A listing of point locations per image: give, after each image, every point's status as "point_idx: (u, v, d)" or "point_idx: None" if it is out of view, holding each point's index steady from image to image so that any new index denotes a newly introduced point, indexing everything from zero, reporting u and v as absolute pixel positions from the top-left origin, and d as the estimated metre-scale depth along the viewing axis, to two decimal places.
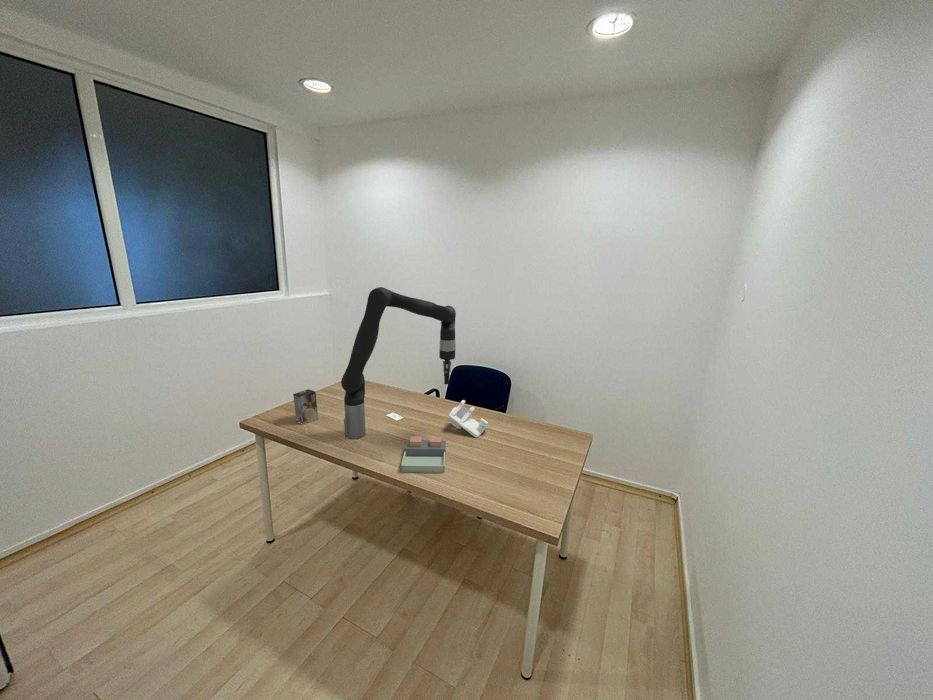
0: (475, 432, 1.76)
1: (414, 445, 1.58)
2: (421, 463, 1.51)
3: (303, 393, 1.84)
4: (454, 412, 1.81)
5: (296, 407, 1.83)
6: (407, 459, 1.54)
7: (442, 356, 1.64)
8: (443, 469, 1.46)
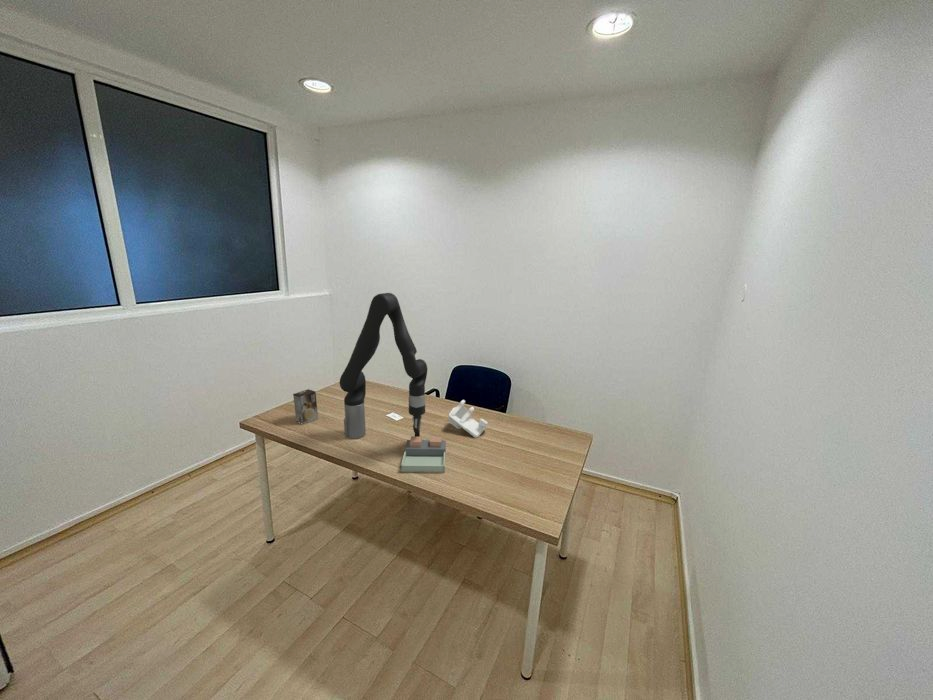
0: (474, 432, 1.76)
1: (414, 445, 1.58)
2: (421, 463, 1.51)
3: (303, 393, 1.84)
4: (454, 412, 1.81)
5: (296, 407, 1.83)
6: (407, 459, 1.54)
7: (411, 412, 1.57)
8: (443, 469, 1.46)
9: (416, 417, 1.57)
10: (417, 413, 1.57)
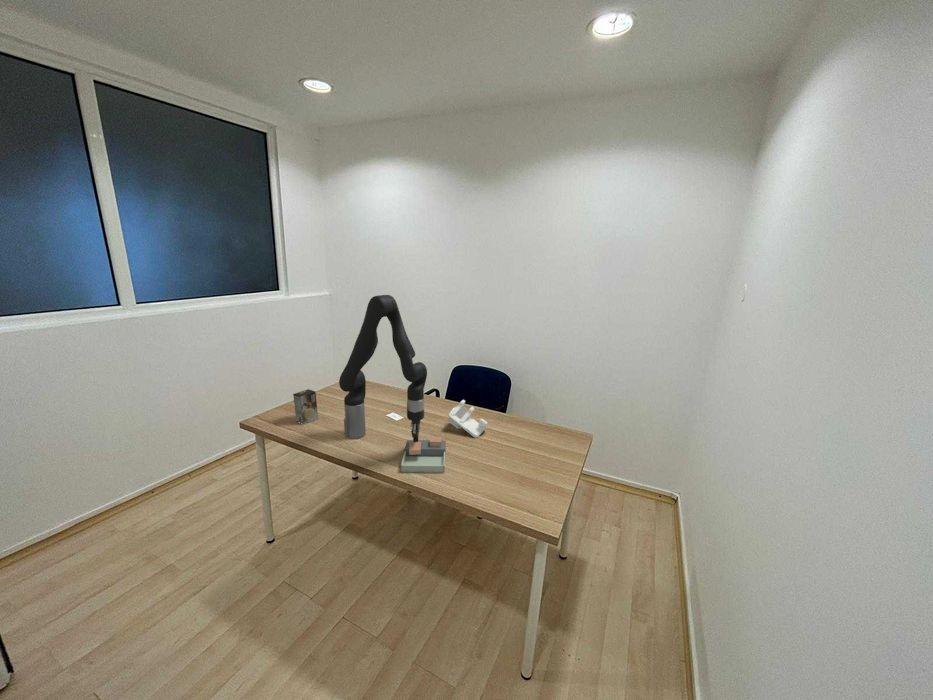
0: (474, 432, 1.76)
1: (414, 453, 1.53)
2: (421, 463, 1.51)
3: (303, 393, 1.84)
4: (454, 412, 1.81)
5: (296, 407, 1.83)
6: (407, 459, 1.54)
7: (409, 417, 1.52)
8: (443, 469, 1.46)
9: (415, 422, 1.52)
10: (416, 418, 1.51)
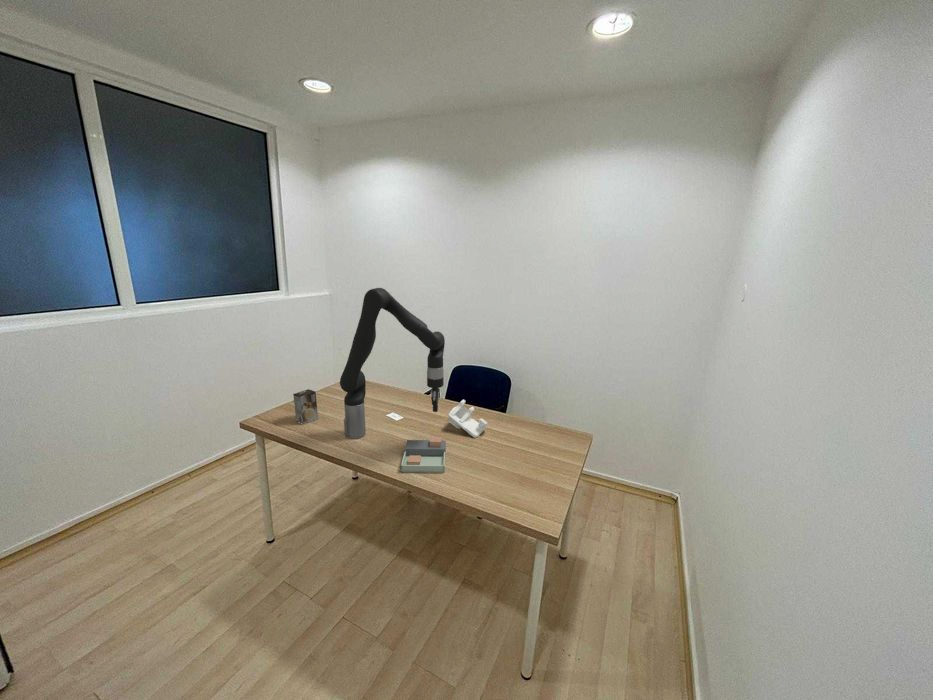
0: (474, 432, 1.76)
1: None
2: (421, 463, 1.51)
3: (303, 393, 1.84)
4: (454, 412, 1.81)
5: (296, 407, 1.83)
6: (407, 459, 1.54)
7: (429, 384, 1.57)
8: (443, 469, 1.46)
9: (434, 389, 1.57)
10: (435, 385, 1.57)
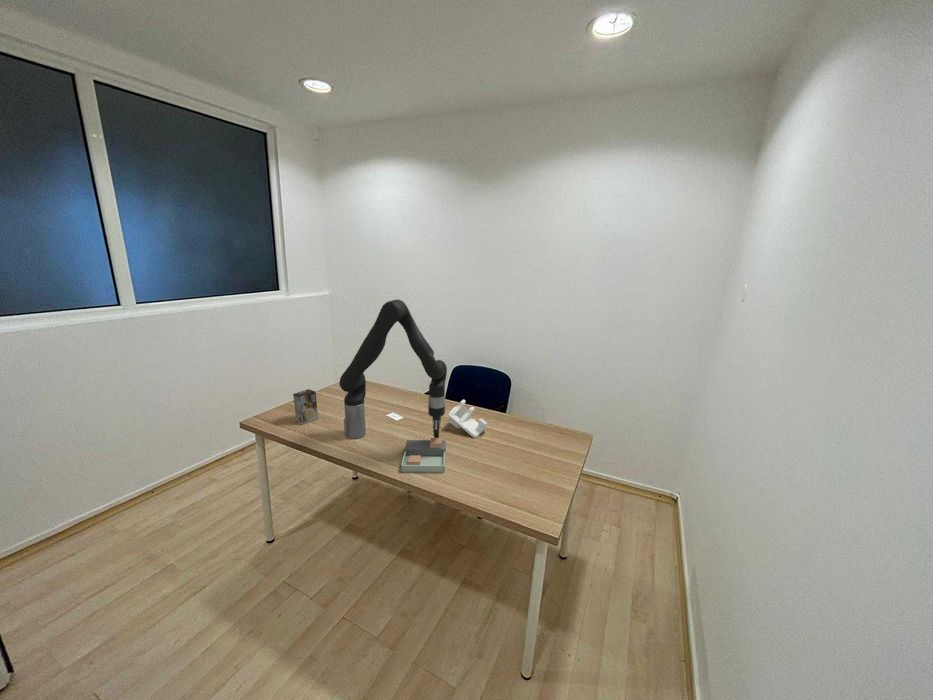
0: (473, 432, 1.76)
1: None
2: (421, 463, 1.51)
3: (303, 393, 1.84)
4: (453, 411, 1.82)
5: (296, 407, 1.83)
6: (407, 459, 1.54)
7: (431, 413, 1.57)
8: (443, 469, 1.46)
9: (436, 418, 1.56)
10: (437, 414, 1.56)
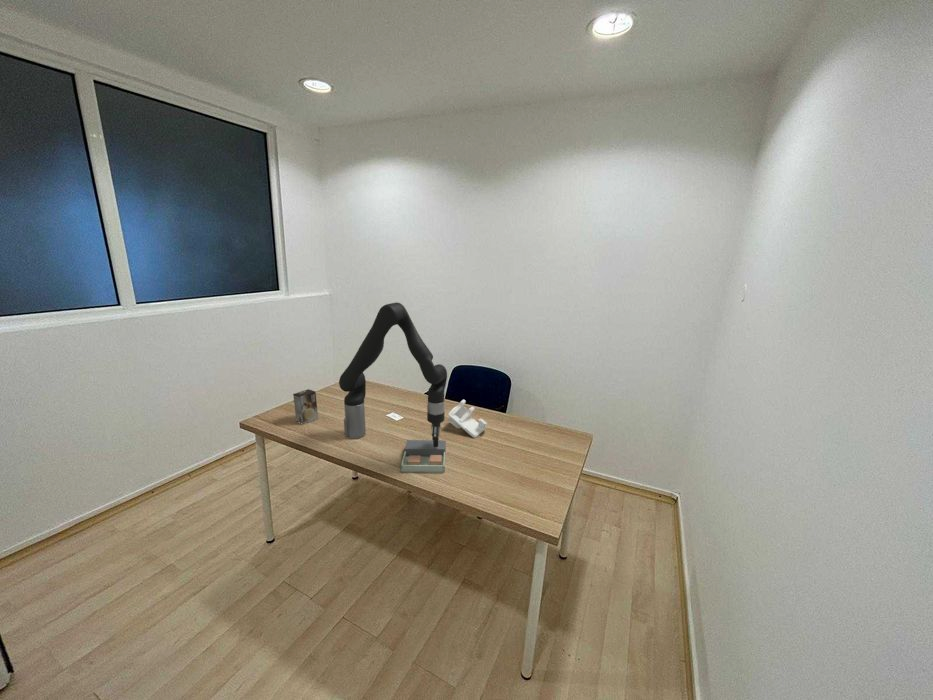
0: (473, 432, 1.76)
1: None
2: (421, 463, 1.51)
3: (303, 393, 1.84)
4: (453, 411, 1.82)
5: (296, 407, 1.83)
6: (407, 459, 1.54)
7: (430, 419, 1.50)
8: (443, 469, 1.46)
9: (435, 425, 1.50)
10: (436, 421, 1.50)
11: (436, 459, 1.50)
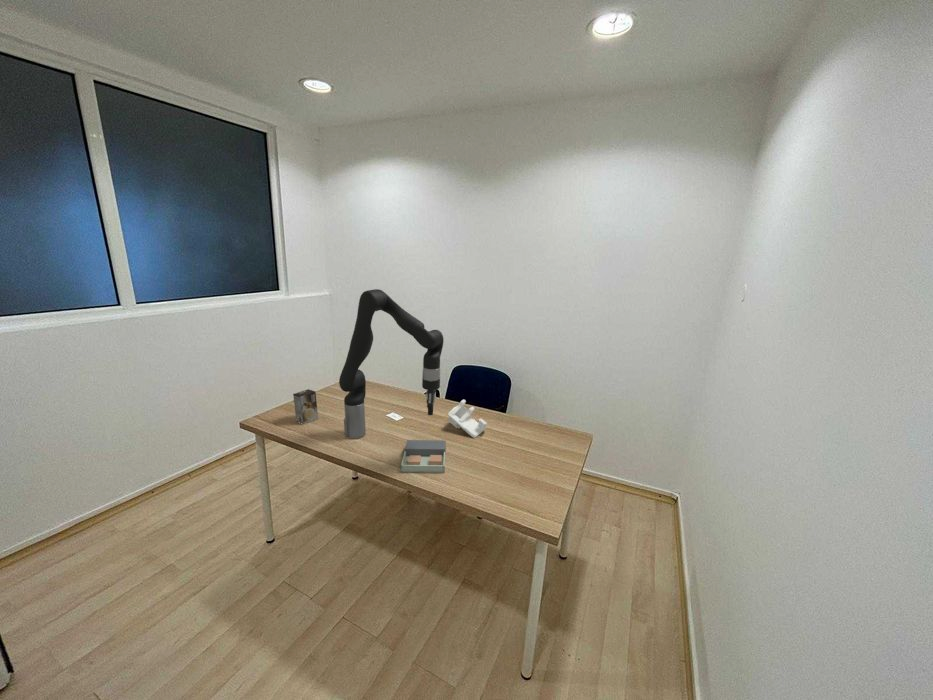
0: (473, 432, 1.76)
1: None
2: (421, 463, 1.51)
3: (303, 393, 1.84)
4: (453, 411, 1.82)
5: (296, 407, 1.83)
6: (407, 459, 1.54)
7: (425, 386, 1.47)
8: (443, 469, 1.46)
9: (430, 392, 1.47)
10: (431, 387, 1.46)
11: (436, 459, 1.50)
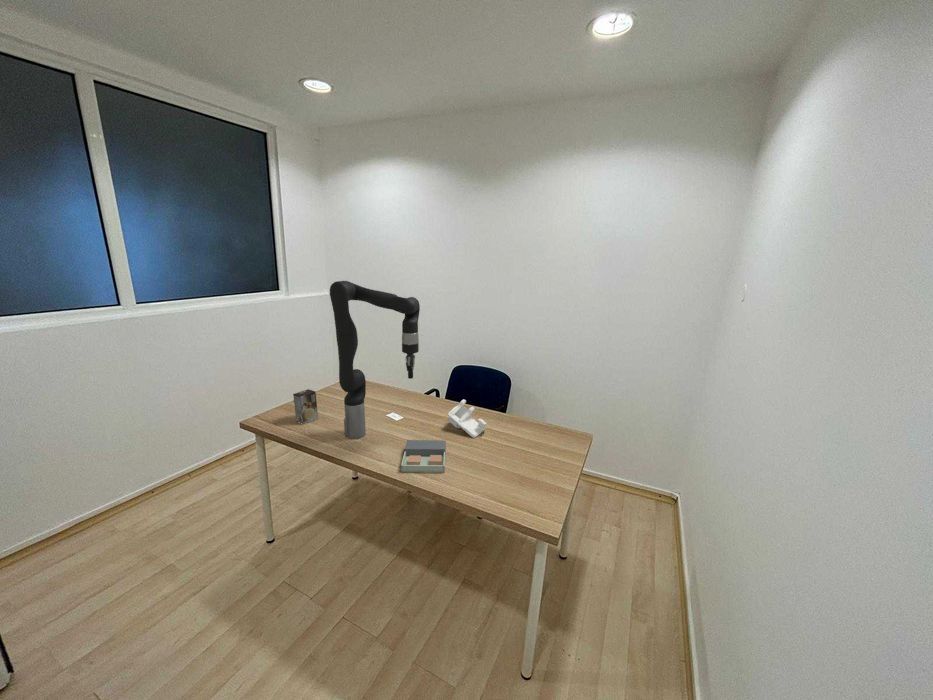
0: (472, 432, 1.76)
1: None
2: (421, 463, 1.51)
3: (303, 393, 1.84)
4: (453, 411, 1.82)
5: (296, 407, 1.83)
6: (407, 459, 1.54)
7: (404, 350, 1.57)
8: (443, 469, 1.46)
9: (409, 355, 1.57)
10: (410, 351, 1.57)
11: (436, 459, 1.50)
